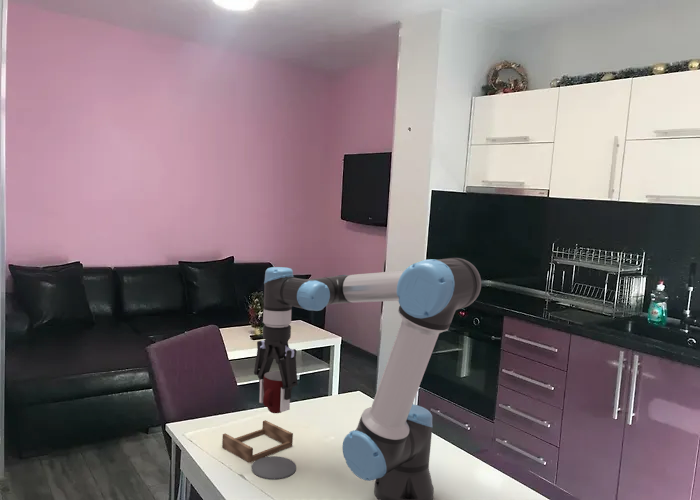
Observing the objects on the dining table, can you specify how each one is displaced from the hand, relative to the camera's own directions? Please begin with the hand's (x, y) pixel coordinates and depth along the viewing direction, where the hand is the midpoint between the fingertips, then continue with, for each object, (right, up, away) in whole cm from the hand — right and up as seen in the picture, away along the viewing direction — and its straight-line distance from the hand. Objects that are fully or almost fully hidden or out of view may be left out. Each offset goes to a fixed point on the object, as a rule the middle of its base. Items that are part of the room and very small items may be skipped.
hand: (274, 405), depth 157 cm
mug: (0, -2, 0) cm, 2 cm away
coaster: (0, -17, -1) cm, 17 cm away
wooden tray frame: (-6, -15, +11) cm, 20 cm away
